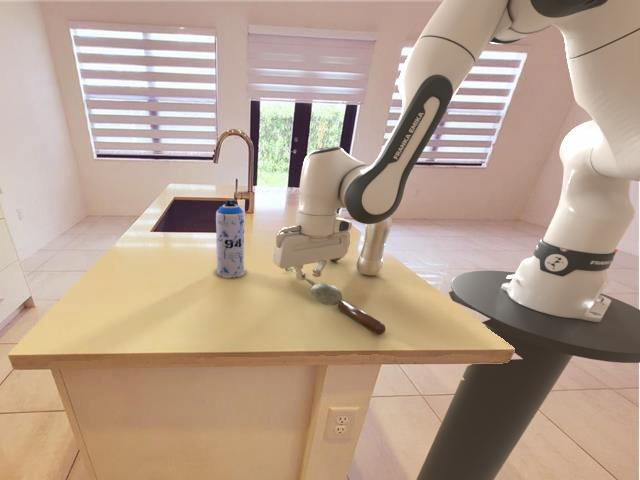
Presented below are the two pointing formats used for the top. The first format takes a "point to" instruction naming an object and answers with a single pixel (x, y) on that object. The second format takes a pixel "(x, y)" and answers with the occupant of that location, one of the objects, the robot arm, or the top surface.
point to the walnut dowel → (362, 317)
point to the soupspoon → (323, 291)
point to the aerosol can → (230, 240)
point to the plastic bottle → (374, 247)
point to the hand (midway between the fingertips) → (308, 277)
